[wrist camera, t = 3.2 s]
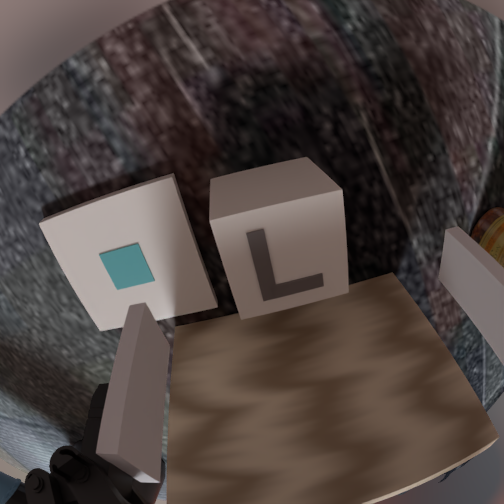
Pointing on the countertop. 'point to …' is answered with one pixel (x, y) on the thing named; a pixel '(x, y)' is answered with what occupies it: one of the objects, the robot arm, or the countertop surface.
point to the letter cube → (280, 236)
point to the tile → (132, 253)
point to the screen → (318, 403)
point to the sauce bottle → (491, 233)
